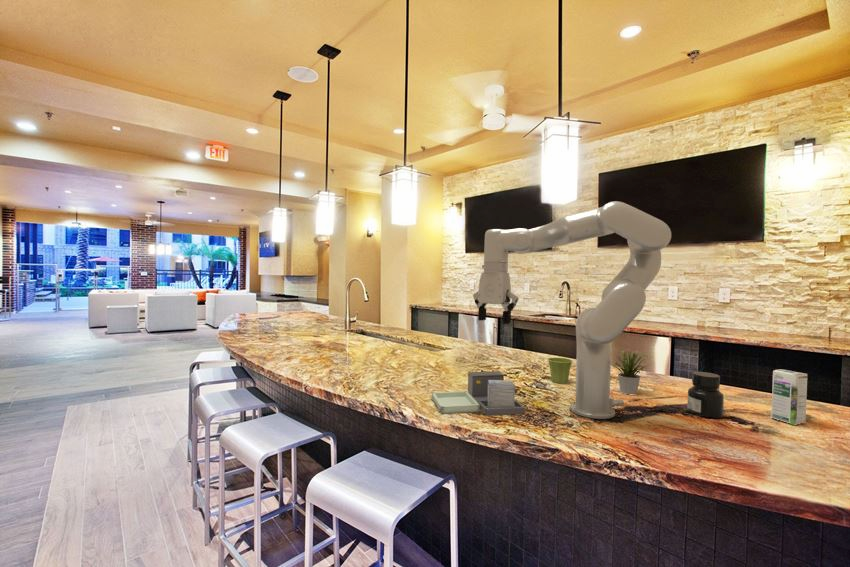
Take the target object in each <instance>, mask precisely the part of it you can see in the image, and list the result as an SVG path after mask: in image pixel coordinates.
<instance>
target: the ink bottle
mask: <svg viewBox="0 0 850 567" xmlns="http://www.w3.org/2000/svg"><path fill="white" fill-rule="evenodd" d="M691 384H692V386H691V387H690V388H688V390H687V404H686V405H687V407H686V408H687V412H689V411H690V412H689V413H691V414H693V413H694V414H693V415H695V414H696V416H699V415H700V417H703V416H705V417H704V418H709V417H713V419H719V417H721V418H723V417H724V404H725V403H724V401H725V400H724V399H725V398H724V397H725V396H724V394H723V393H722V392H721V391H720V390H719V389H720V386H721V375H719V374H716V373H712V372H708V371H707V372H705V371H693V372H692V375H691Z"/></svg>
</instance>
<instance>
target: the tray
mask: <svg viewBox="0 0 850 567" xmlns="http://www.w3.org/2000/svg"><path fill="white" fill-rule="evenodd" d="M431 400H432V402H433V403H434V405H435V406H436V408H437V410H438V411H439V413H440V415H445V414H446V415H448V414H449V415H450V414H463V413H466V414H467V413H480V412H481V410H480V405H479V404H478V402H477V401H476V400H475V399H474V398H473V397H472V396H471V395H470V394H469V393H468V390H465V391H464V390H463V391H441V392H439V391H438V392H435V391H434V392H431Z"/></svg>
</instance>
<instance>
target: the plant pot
mask: <svg viewBox="0 0 850 567" xmlns="http://www.w3.org/2000/svg"><path fill="white" fill-rule="evenodd" d="M547 361H548V365H549V369H550V370H549V371H550V378H551V382H553V383H556V384H557V383H559V384H567V383H568V382H569V378H570V371H571V367H572V363H573V359H571V358H566V357H548V358H547Z"/></svg>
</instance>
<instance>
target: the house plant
mask: <svg viewBox="0 0 850 567" xmlns="http://www.w3.org/2000/svg"><path fill="white" fill-rule="evenodd" d="M626 351H627V353H628V354H626V352H625V351H624V349H623V350H622V349H621V355H622V358H621V357H620V356H617V355H616V354H615V353H614V352H612V354H613V355H615V357H616V358H617V359H618V361H619V362H620V363H621V364H620V363H618V362H616V361H613V363H614V364H616V365H612V367H613V368H616V369H617V370H618V371H620V373H618V374H617V378H618V386H619V390H620V391H621V392H623V393H626V394H625V395H627V394H636V395H638V394H637V393H638V390H639V385H640V380H641V376H640V375H638V373H639V374H641V372H643V371H644V368H645V369H646V370H647V367H648V366H651V364H650V365H649V364H648V365H641V363H643V362H644V361H645V360H647V359H648V358H649V357H648V355H649V354H653V352H647V353H644V354H642V355H640V356H639V358H638V355H639V350H637V351H635V353H633V354H632V352H631V351H630V349H629V348H627V347H626ZM643 357H645V358H643ZM637 358H638V359H637ZM642 358H643V359H642ZM641 359H642V360H641ZM640 360H641V361H640ZM639 361H640V362H639ZM638 362H639V363H638ZM635 366H636V367H635ZM620 391H619V392H620ZM621 392H620V393H621ZM623 393H622V394H623Z"/></svg>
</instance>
